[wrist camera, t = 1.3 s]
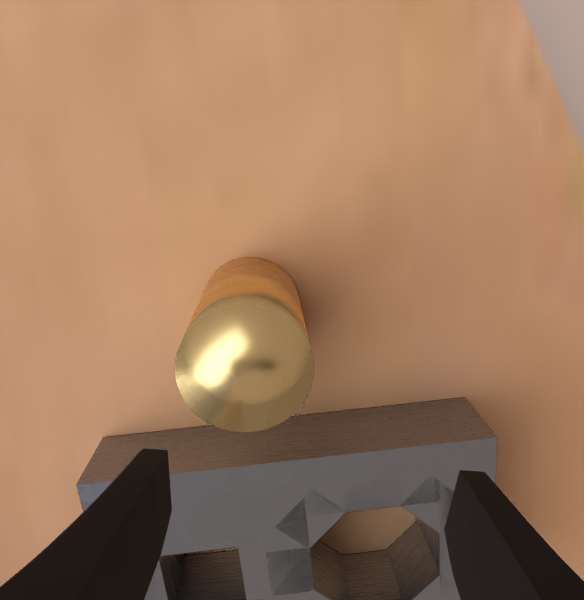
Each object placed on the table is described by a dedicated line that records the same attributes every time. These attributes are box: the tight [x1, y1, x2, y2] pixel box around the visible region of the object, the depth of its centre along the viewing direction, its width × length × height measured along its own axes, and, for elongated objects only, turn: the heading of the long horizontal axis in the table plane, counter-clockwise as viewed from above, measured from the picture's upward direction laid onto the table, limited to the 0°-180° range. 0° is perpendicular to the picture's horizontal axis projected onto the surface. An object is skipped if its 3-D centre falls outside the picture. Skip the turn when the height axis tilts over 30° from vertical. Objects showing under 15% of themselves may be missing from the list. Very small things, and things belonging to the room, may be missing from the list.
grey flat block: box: [76, 397, 497, 600], centre depth 24 cm, size 18×12×4 cm, turn 95°
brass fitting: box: [175, 257, 314, 432], centre depth 18 cm, size 4×4×7 cm
